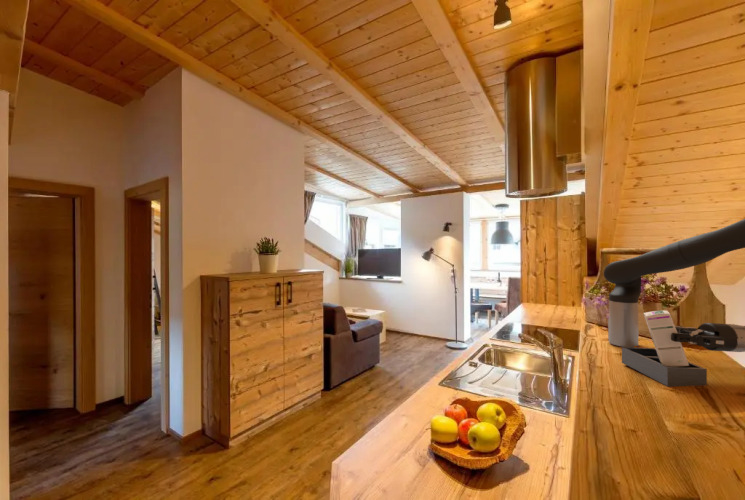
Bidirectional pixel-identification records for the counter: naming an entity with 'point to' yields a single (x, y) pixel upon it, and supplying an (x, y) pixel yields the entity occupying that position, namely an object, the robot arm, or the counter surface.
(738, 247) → the robot arm
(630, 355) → the caddy
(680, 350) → the syrup box
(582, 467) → the counter surface
